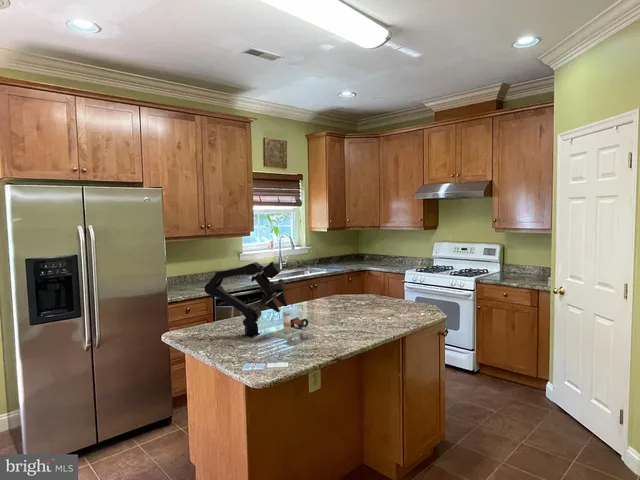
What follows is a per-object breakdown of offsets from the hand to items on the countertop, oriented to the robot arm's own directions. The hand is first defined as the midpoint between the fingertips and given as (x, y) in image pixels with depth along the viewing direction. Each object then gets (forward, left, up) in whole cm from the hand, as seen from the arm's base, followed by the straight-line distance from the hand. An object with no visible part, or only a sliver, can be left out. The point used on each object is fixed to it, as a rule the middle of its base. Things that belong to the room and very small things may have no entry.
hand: (282, 308), depth 209 cm
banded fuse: (+2, 0, -13) cm, 14 cm away
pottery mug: (+1, +11, -14) cm, 18 cm away
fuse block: (+13, -4, -14) cm, 20 cm away
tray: (+3, 0, -14) cm, 14 cm away
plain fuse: (+14, 0, -13) cm, 19 cm away
